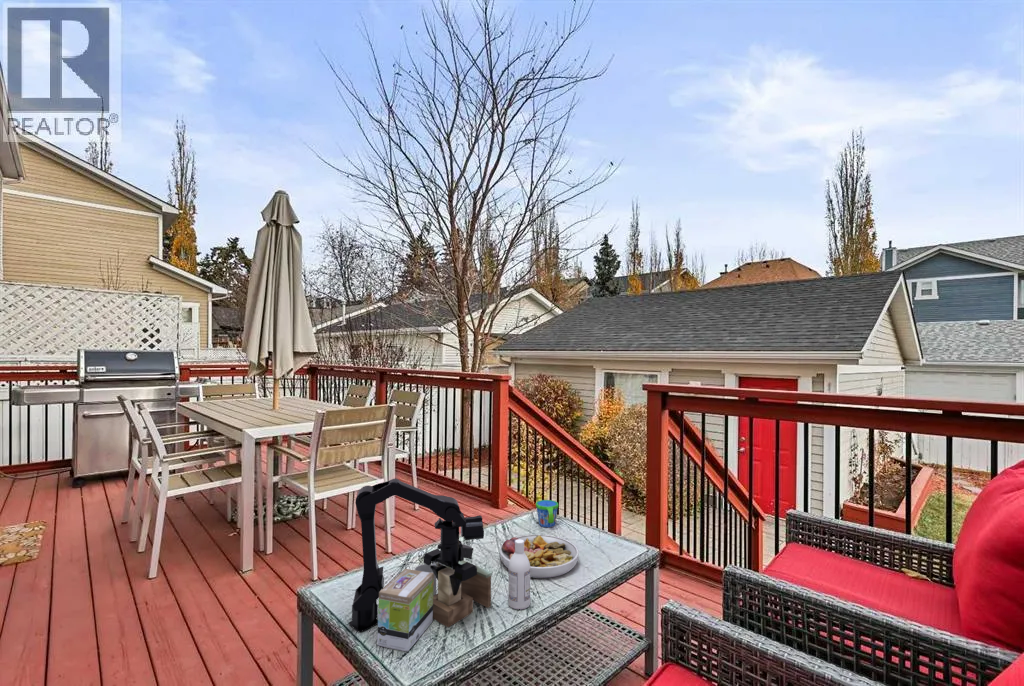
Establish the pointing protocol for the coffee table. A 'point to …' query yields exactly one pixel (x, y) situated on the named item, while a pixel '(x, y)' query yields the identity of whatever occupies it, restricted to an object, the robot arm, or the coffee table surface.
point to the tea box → (405, 609)
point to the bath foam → (519, 578)
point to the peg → (447, 588)
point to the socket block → (465, 598)
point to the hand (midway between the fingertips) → (449, 592)
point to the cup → (427, 569)
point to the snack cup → (547, 512)
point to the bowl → (543, 554)
